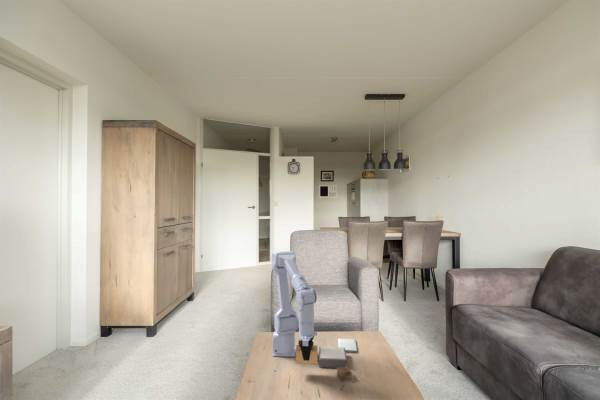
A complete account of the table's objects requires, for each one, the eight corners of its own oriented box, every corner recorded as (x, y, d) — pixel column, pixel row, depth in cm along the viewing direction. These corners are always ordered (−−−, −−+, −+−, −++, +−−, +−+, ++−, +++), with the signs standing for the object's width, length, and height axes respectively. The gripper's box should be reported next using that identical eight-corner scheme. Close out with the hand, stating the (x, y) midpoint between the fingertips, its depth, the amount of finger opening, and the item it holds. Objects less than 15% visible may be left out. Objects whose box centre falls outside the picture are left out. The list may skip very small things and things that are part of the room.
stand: (319, 367, 119) (318, 358, 119) (319, 354, 130) (319, 346, 130) (346, 368, 118) (346, 359, 118) (345, 354, 129) (344, 346, 129)
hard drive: (357, 350, 131) (355, 338, 143) (338, 349, 132) (337, 337, 144) (357, 354, 131) (355, 342, 143) (338, 353, 132) (337, 341, 144)
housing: (295, 363, 113) (295, 349, 113) (296, 358, 117) (296, 344, 117) (317, 364, 112) (317, 350, 112) (317, 358, 116) (317, 345, 116)
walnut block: (341, 381, 109) (341, 373, 110) (337, 375, 113) (337, 367, 113) (351, 379, 110) (351, 371, 111) (346, 374, 114) (346, 366, 114)
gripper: (316, 328, 107) (316, 367, 107) (317, 314, 122) (317, 348, 121) (296, 328, 108) (296, 366, 107) (300, 314, 122) (300, 348, 122)
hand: (306, 357), depth 114 cm, fingers closed on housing, 4 cm apart
